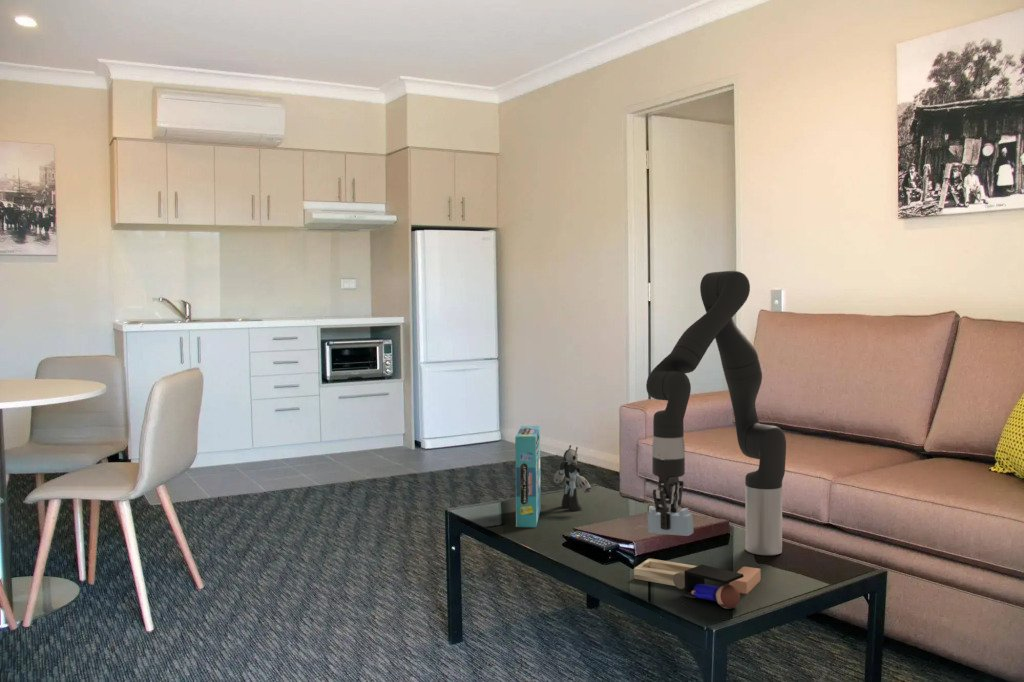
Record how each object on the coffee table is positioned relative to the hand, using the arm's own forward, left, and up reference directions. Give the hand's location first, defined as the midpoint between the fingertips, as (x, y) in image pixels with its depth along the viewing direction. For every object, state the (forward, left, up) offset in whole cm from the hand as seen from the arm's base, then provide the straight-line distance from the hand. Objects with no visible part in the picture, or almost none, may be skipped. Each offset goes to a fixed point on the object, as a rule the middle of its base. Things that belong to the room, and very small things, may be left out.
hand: (668, 526), depth 199 cm
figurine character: (+10, +13, -13) cm, 21 cm away
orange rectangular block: (-4, +17, -13) cm, 22 cm away
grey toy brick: (0, +1, -1) cm, 1 cm away
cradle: (0, 0, -12) cm, 12 cm away
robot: (-49, -53, -13) cm, 73 cm away
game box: (-31, -58, -13) cm, 67 cm away
